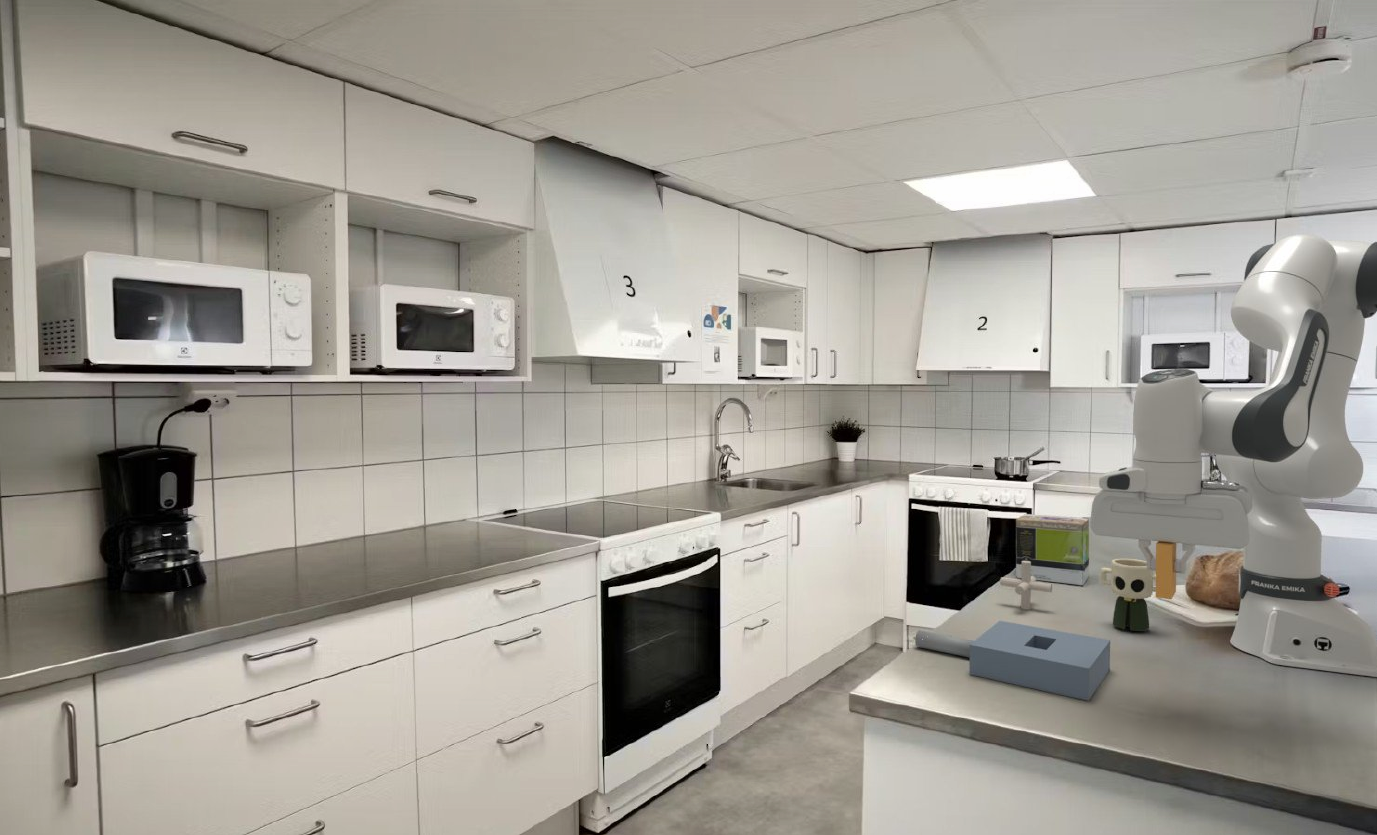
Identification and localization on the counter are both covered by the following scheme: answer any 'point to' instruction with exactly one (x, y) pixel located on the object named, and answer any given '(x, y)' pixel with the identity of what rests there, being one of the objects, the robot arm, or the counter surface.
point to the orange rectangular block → (1165, 570)
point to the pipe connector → (1026, 585)
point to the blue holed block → (1031, 657)
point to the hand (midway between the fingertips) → (1166, 571)
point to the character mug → (1130, 592)
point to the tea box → (1053, 547)
